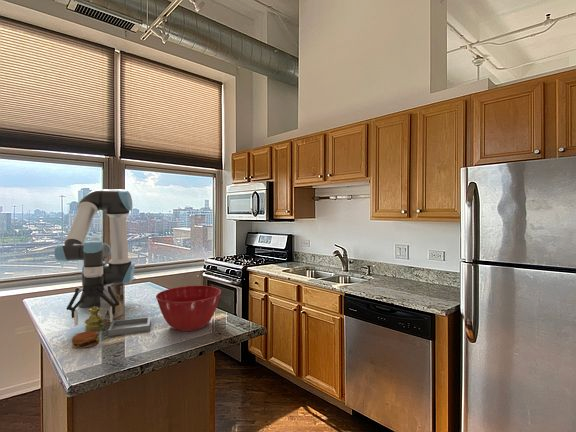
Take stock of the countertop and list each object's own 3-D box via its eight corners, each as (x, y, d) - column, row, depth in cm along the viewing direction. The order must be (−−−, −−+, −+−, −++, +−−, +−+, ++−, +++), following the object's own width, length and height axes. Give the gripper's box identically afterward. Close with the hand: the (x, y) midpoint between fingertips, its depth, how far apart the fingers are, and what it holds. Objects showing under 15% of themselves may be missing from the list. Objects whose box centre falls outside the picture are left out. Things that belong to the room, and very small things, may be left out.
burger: (71, 343, 134) (71, 331, 134) (97, 338, 140) (97, 327, 140) (72, 352, 126) (72, 339, 126) (100, 346, 132) (100, 334, 132)
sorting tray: (112, 326, 154) (112, 320, 154) (150, 321, 159) (150, 316, 159) (108, 336, 142) (108, 330, 141) (149, 331, 147) (149, 325, 147)
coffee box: (113, 313, 173) (113, 282, 172) (124, 314, 171) (124, 282, 171) (100, 319, 164) (99, 286, 163) (111, 319, 162) (111, 286, 162)
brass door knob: (99, 331, 147) (99, 309, 146) (81, 332, 146) (81, 309, 146) (107, 326, 154) (106, 304, 154) (90, 326, 153) (89, 304, 153)
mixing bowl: (203, 340, 136) (202, 302, 136) (142, 334, 143) (141, 298, 143) (230, 318, 164) (230, 287, 164) (178, 314, 170) (178, 284, 170)
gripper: (57, 279, 141) (58, 329, 142) (123, 275, 150) (124, 322, 150) (62, 276, 149) (63, 323, 149) (125, 272, 157) (126, 317, 157)
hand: (94, 323), depth 150 cm, fingers open, 13 cm apart
